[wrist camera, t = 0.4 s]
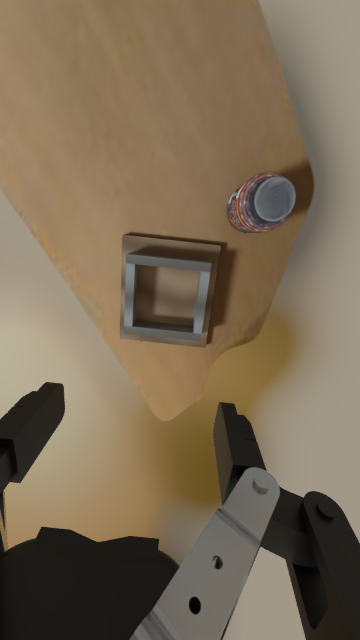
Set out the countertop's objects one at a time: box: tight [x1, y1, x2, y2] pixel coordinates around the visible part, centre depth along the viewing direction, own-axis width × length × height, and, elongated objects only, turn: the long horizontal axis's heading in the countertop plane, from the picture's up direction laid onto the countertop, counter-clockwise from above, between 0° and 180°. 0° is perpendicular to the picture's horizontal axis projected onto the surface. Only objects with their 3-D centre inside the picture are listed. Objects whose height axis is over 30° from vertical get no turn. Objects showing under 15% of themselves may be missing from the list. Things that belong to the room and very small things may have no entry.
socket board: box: [120, 235, 221, 348], centre depth 36 cm, size 16×14×4 cm
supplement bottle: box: [227, 172, 296, 233], centre depth 28 cm, size 6×6×11 cm
